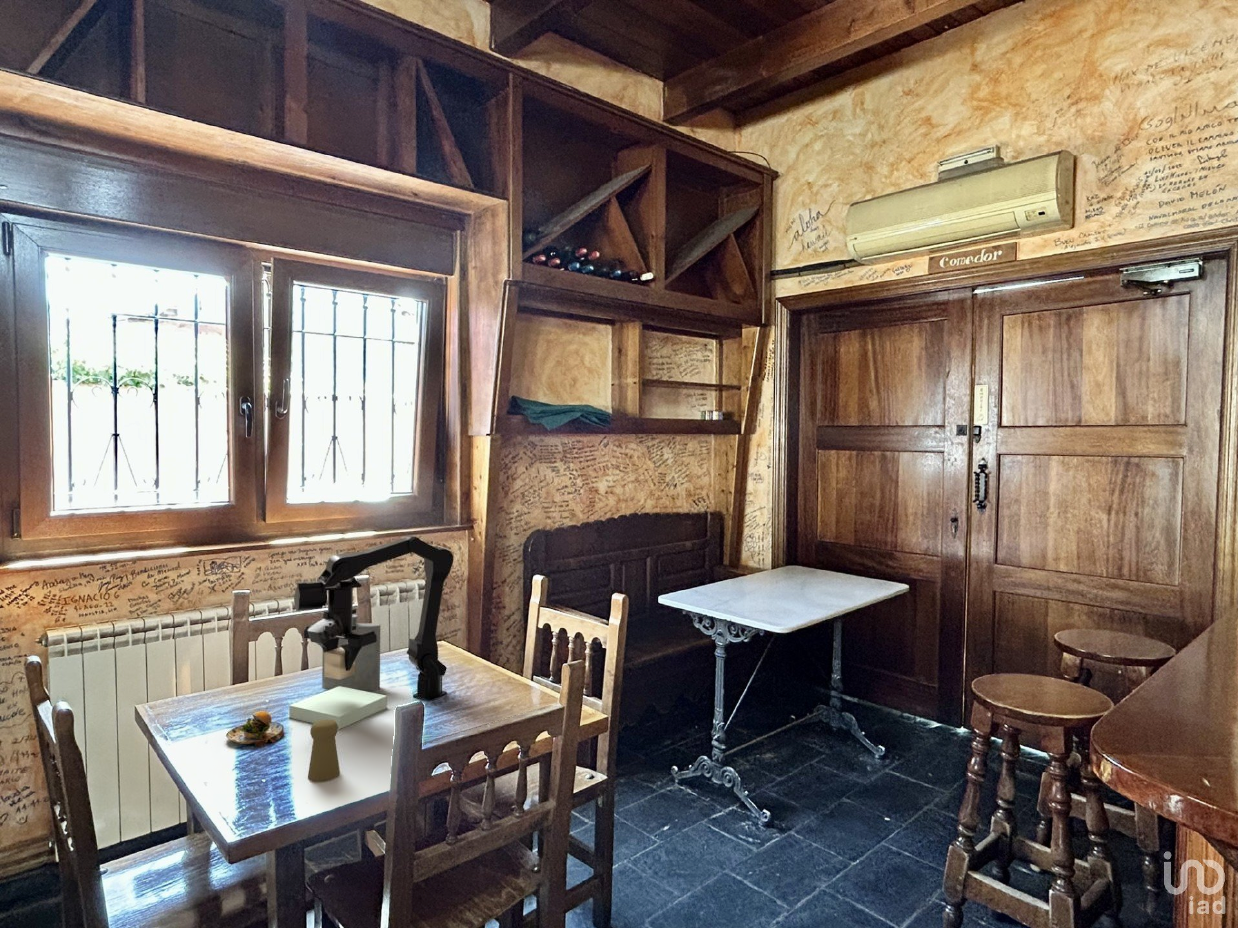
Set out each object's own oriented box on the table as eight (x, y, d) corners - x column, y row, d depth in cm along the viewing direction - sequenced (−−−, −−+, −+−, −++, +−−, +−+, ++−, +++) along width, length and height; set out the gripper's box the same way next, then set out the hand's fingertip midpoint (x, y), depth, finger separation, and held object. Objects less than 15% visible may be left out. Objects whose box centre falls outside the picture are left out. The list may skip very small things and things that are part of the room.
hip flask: (381, 686, 203) (382, 614, 202) (375, 691, 199) (376, 617, 198) (325, 684, 204) (326, 612, 203) (318, 689, 200) (319, 615, 199)
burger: (228, 732, 170) (228, 700, 170) (284, 725, 175) (284, 694, 174) (223, 752, 159) (223, 718, 159) (283, 745, 164) (283, 711, 163)
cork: (313, 768, 152) (313, 715, 151) (343, 768, 152) (344, 715, 152) (303, 782, 146) (303, 727, 145) (334, 781, 146) (335, 726, 146)
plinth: (339, 697, 194) (339, 685, 193) (386, 707, 187) (386, 695, 187) (289, 717, 179) (289, 705, 179) (339, 729, 172) (339, 716, 172)
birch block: (339, 670, 186) (339, 647, 186) (354, 673, 184) (354, 649, 184) (324, 676, 181) (324, 652, 181) (339, 679, 179) (339, 655, 179)
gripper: (286, 608, 179) (285, 672, 179) (344, 617, 171) (344, 684, 171) (321, 599, 189) (321, 660, 189) (378, 607, 181) (377, 670, 182)
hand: (339, 668), depth 183 cm, fingers closed on birch block, 5 cm apart
